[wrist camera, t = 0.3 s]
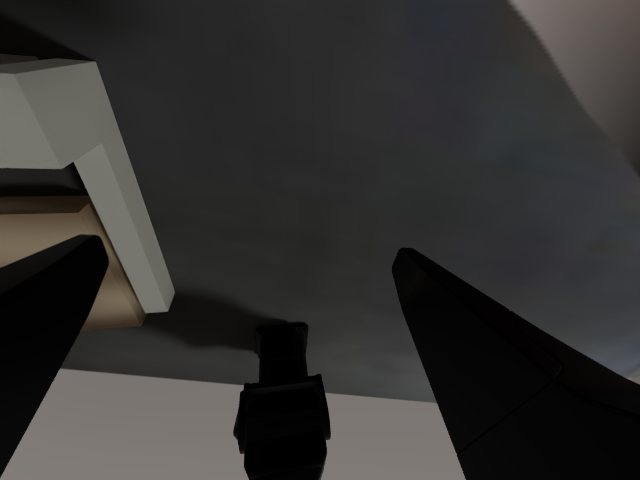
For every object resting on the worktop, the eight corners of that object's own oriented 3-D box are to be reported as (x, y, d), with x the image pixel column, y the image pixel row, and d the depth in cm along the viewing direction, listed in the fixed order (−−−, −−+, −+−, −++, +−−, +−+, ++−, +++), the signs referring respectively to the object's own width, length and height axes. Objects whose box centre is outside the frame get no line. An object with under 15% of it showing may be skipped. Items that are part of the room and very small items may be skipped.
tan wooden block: (152, 302, 29) (141, 326, 27) (67, 308, 28) (48, 333, 25) (99, 192, 21) (78, 212, 19) (-21, 194, 20) (-60, 216, 18)
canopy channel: (175, 292, 28) (153, 350, 23) (15, 300, 25) (-48, 366, 20) (95, 61, 16) (13, 74, 11) (-217, 36, 14) (-511, 37, 8)
